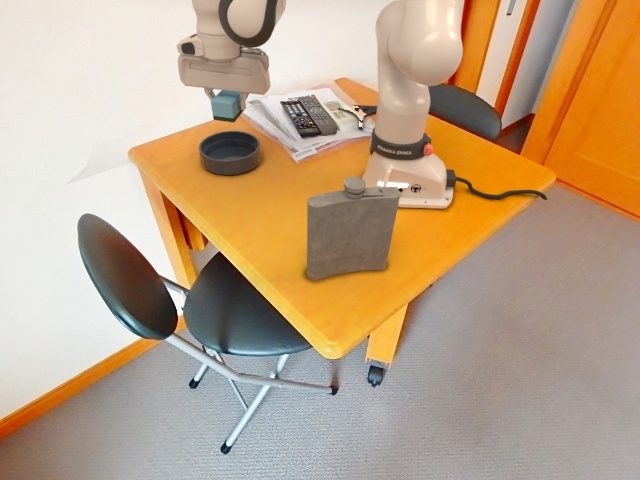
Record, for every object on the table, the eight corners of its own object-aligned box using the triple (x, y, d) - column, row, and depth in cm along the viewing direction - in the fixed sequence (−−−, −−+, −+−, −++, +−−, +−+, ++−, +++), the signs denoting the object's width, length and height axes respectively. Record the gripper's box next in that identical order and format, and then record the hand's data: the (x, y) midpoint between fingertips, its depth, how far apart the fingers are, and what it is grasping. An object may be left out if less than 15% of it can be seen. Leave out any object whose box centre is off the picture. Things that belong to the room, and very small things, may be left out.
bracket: (336, 129, 120) (337, 120, 118) (339, 107, 131) (339, 99, 129) (384, 132, 120) (385, 123, 118) (382, 110, 131) (383, 102, 129)
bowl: (268, 149, 110) (267, 134, 107) (249, 180, 99) (248, 164, 96) (215, 142, 112) (213, 127, 109) (191, 171, 101) (188, 156, 98)
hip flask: (308, 281, 75) (309, 195, 61) (304, 265, 78) (304, 180, 64) (388, 269, 78) (405, 184, 64) (381, 254, 81) (396, 171, 67)
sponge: (225, 106, 97) (223, 88, 94) (245, 109, 96) (243, 90, 93) (213, 120, 91) (210, 101, 88) (234, 122, 91) (231, 103, 88)
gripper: (272, 44, 84) (275, 107, 94) (182, 35, 87) (194, 97, 96) (263, 54, 80) (267, 119, 89) (169, 44, 82) (182, 108, 92)
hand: (228, 107), depth 93 cm, fingers closed on sponge, 5 cm apart
